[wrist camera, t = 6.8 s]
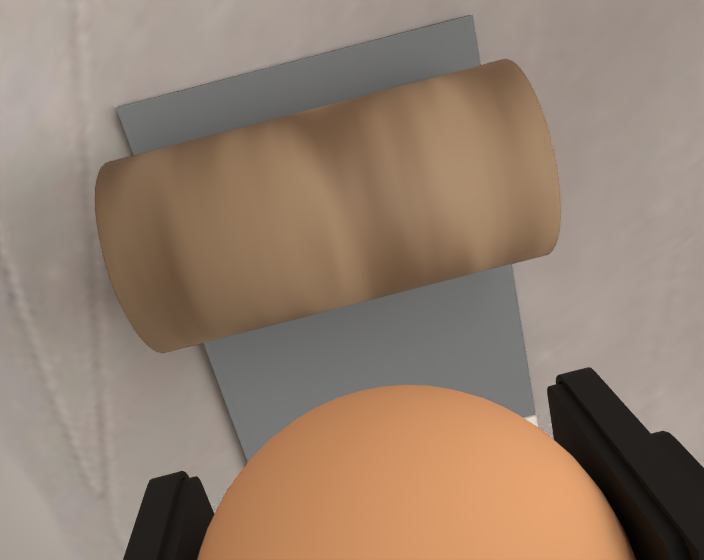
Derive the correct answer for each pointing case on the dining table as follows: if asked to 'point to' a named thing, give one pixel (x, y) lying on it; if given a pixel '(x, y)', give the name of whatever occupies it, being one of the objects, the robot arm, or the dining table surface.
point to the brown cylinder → (330, 206)
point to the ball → (413, 487)
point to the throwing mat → (366, 317)
